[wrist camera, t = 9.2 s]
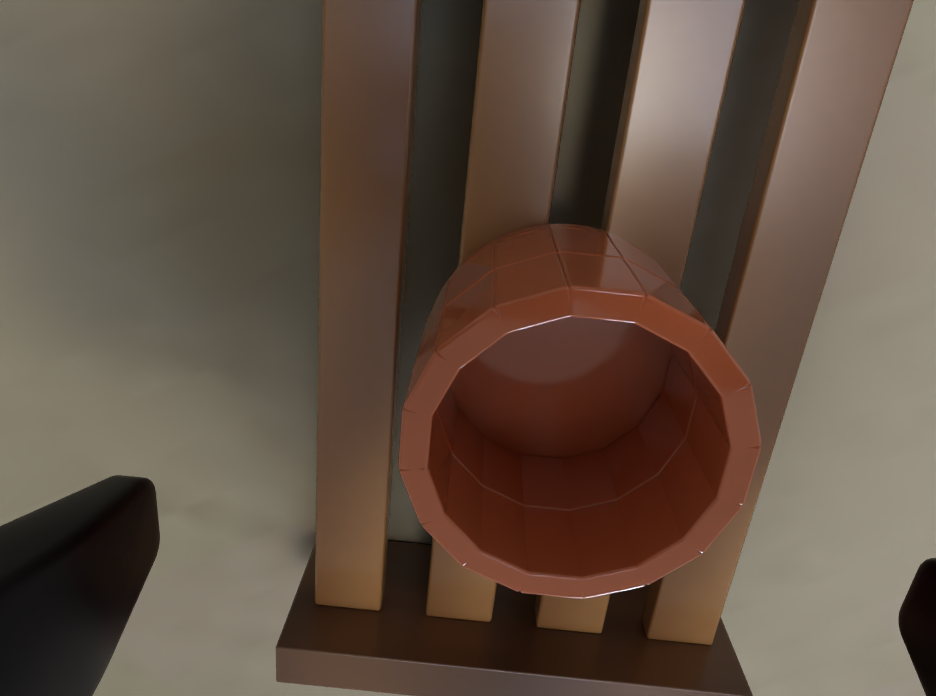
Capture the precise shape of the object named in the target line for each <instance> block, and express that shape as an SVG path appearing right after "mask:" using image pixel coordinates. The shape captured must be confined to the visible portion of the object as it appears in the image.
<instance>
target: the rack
mask: <svg viewBox="0 0 936 696" xmlns="http://www.w3.org/2000/svg"><path fill="white" fill-rule="evenodd" d="M913 1H914V0H799V2H798V6H797V10H796V14H795V18H794V22H793V26H792V30H791V34H790V37H789V41H788V45H787V49H786V53H785V57H784V61H783V65H782V69H781V73H780V77H779V81H778V85H777V88H776V92H775V96H774V100H773V104H772V108H771V112H770V116H769V120H768V124H767V128H766V132H765V136H764V139H763V143H762V147H761V151H760V155H759V159H758V163H757V167H756V171H755V175H754V179H753V183H752V186H751V190H750V194H749V198H748V202H747V206H746V210H745V214H744V218H743V222H742V226H741V230H740V234H739V237H738V241H737V245H736V249H735V253H734V257H733V261H732V265H731V269H730V273H729V277H728V281H727V285H726V288H725V292H724V296H723V300H722V304H721V308H720V312H719V316H718V320H717V324H716V328H715V333H716V334H717V336H718V337H719V338H720V340H721V341H722V342H723V344H724V345H725V347H726V348H727V349H728V351H729V352H730V353H731V355H732V356H733V357H734V359H735V360H736V361H737V363H738V364H739V366H740V367H741V368H742V370H743V371H744V372H745V374H746V375H747V376H748V378H749V379H750V383H751V385H752V387H753V393H754V399H755V406H756V412H757V418H758V424H759V430H760V436H761V445H760V446H761V450H760V454H759V457H758V460H757V463H756V467H755V470H754V473H753V477H752V480H751V483H750V486H749V490H748V493H747V496H746V500H745V503H744V504H742V508H741V509H740V511H739V512H738V513H737V514H736V515H735V517H734V518H733V519H732V520H731V521H730V522H729V524H728V525H727V526H726V527H725V528H724V530H723V531H722V532H721V533H720V534H719V535H718V537H717V538H716V539H715V540H714V541H713V543H712V544H711V545H710V546H709V547H708V548H707V550H706V551H705V552H703V553H701V555H700V556H698V557H697V558H695V559H693V560H691V561H690V562H688V563H686V564H684V565H683V566H681V567H679V568H677V569H676V570H674V571H672V572H670V573H669V574H667V575H665V576H663V577H662V578H660V579H658V580H656V581H655V582H653V583H651V584H649V585H647V584H645V586H644V587H640V588H635V589H630V590H625V591H620V592H616V593H611V594H606V595H601V596H596V597H591V598H584V597H583V598H581V599H576V598H567V597H557V596H547V595H537V594H528V593H522V592H521V591H519V592H518V591H515V590H513V589H510V588H508V587H506V586H504V585H501V584H499V583H497V582H495V581H493V580H490V579H488V578H486V577H484V576H482V575H479V574H477V573H475V572H473V571H470V570H468V569H466V568H465V567H464V566H462V565H460V564H459V563H458V562H457V561H456V560H455V559H454V558H453V557H452V556H451V555H450V554H449V553H448V552H447V551H446V550H445V549H444V548H443V547H442V546H441V545H440V544H439V543H438V542H437V541H436V540H435V539H434V538H432V545H424V544H415V543H405V542H395V541H388V531H389V515H390V500H391V484H392V468H393V453H394V437H395V421H396V405H397V390H398V374H399V358H400V343H401V327H402V311H403V296H404V280H405V264H406V249H407V233H408V217H409V202H410V186H411V170H412V155H413V139H414V123H415V107H416V92H417V76H418V60H419V45H420V29H421V13H422V0H323V24H322V100H321V175H320V251H319V326H318V402H317V478H316V542H315V545H314V548H313V550H312V553H311V556H310V558H309V561H308V563H307V566H306V569H305V571H304V574H303V577H302V579H301V582H300V585H299V587H298V590H297V593H296V595H295V598H294V601H293V603H292V606H291V609H290V611H289V614H288V617H287V619H286V622H285V624H284V627H283V630H282V632H281V635H280V638H279V640H278V643H277V646H276V680H277V682H285V683H295V684H304V685H314V686H324V687H334V688H343V689H353V690H363V691H373V692H382V693H392V694H402V695H412V696H753V695H752V692H751V690H750V687H749V685H748V683H747V680H746V678H745V675H744V673H743V670H742V668H741V665H740V663H739V661H738V658H737V656H736V653H735V651H734V648H733V646H732V643H731V641H730V639H729V636H728V634H727V631H726V629H725V626H724V624H723V621H722V619H721V614H722V611H723V607H724V604H725V601H726V598H727V595H728V591H729V588H730V585H731V582H732V579H733V575H734V572H735V569H736V566H737V563H738V559H739V556H740V553H741V550H742V547H743V543H744V540H745V537H746V534H747V531H748V528H749V524H750V521H751V518H752V515H753V512H754V508H755V505H756V502H757V499H758V496H759V492H760V489H761V486H762V483H763V480H764V476H765V473H766V470H767V467H768V464H769V460H770V457H771V454H772V451H773V448H774V444H775V441H776V438H777V435H778V432H779V429H780V425H781V422H782V419H783V416H784V413H785V409H786V406H787V403H788V400H789V397H790V393H791V390H792V387H793V384H794V381H795V377H796V374H797V371H798V368H799V365H800V361H801V358H802V355H803V352H804V349H805V346H806V342H807V339H808V336H809V333H810V330H811V326H812V323H813V320H814V317H815V314H816V310H817V307H818V304H819V301H820V298H821V294H822V291H823V288H824V285H825V282H826V278H827V275H828V272H829V269H830V266H831V263H832V259H833V256H834V253H835V250H836V247H837V243H838V240H839V237H840V234H841V231H842V227H843V224H844V221H845V218H846V215H847V211H848V208H849V205H850V202H851V199H852V195H853V192H854V189H855V186H856V183H857V179H858V176H859V173H860V170H861V167H862V164H863V160H864V157H865V154H866V151H867V148H868V144H869V141H870V138H871V135H872V132H873V128H874V125H875V122H876V119H877V116H878V112H879V109H880V106H881V103H882V100H883V96H884V93H885V90H886V87H887V84H888V81H889V77H890V74H891V71H892V68H893V65H894V61H895V58H896V55H897V52H898V49H899V45H900V42H901V39H902V36H903V33H904V29H905V26H906V23H907V20H908V17H909V13H910V10H911V7H912V4H913ZM745 2H746V0H640V6H639V11H638V17H637V23H636V28H635V34H634V40H633V46H632V51H631V57H630V63H629V69H628V74H627V80H626V86H625V92H624V97H623V103H622V109H621V114H620V120H619V126H618V132H617V137H616V143H615V149H614V155H613V160H612V166H611V172H610V177H609V183H608V189H607V195H606V200H605V206H604V212H603V218H602V223H601V229H600V230H604V231H607V232H610V233H612V234H614V235H617V236H619V237H621V238H623V239H625V240H627V241H629V242H630V243H632V244H633V245H635V246H636V247H638V248H639V249H641V250H642V251H643V252H644V253H646V254H647V255H648V256H650V257H652V258H653V259H654V260H655V261H656V262H658V264H659V265H660V266H661V267H662V269H663V270H664V271H665V272H666V273H667V275H668V276H669V277H670V278H671V279H672V281H673V282H674V283H675V284H676V285H677V287H678V288H679V289H680V287H681V282H682V278H683V274H684V269H685V265H686V260H687V256H688V252H689V247H690V243H691V239H692V234H693V230H694V225H695V221H696V217H697V212H698V208H699V203H700V199H701V195H702V190H703V186H704V182H705V177H706V173H707V168H708V164H709V160H710V155H711V151H712V146H713V142H714V138H715V133H716V129H717V125H718V120H719V116H720V111H721V107H722V103H723V98H724V94H725V89H726V85H727V81H728V76H729V72H730V67H731V63H732V59H733V54H734V50H735V46H736V41H737V37H738V32H739V28H740V24H741V19H742V15H743V10H744V6H745ZM580 4H581V0H483V10H482V21H481V31H480V42H479V52H478V63H477V73H476V84H475V94H474V105H473V116H472V126H471V137H470V147H469V158H468V168H467V179H466V189H465V200H464V211H463V221H462V232H461V242H460V253H459V263H458V267H459V266H460V265H461V264H462V263H463V262H464V261H465V260H466V259H467V258H468V257H470V256H471V255H472V254H473V253H474V252H476V251H477V250H479V249H480V248H482V247H483V246H485V245H486V244H488V243H489V242H491V241H493V240H495V239H497V238H499V237H501V236H503V235H506V234H508V233H511V232H514V231H517V230H520V229H523V228H528V227H532V226H537V225H546V224H549V219H550V212H551V205H552V198H553V191H554V184H555V177H556V170H557V163H558V156H559V149H560V142H561V135H562V128H563V122H564V115H565V108H566V101H567V94H568V87H569V80H570V73H571V66H572V59H573V52H574V45H575V38H576V31H577V25H578V18H579V11H580Z"/></svg>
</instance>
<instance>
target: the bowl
mask: <svg viewBox="0 0 936 696" xmlns="http://www.w3.org/2000/svg"><path fill="white" fill-rule="evenodd" d="M760 445H761V436H760V430H759V424H758V418H757V412H756V406H755V399H754V393H753V387H752V385H751V383H750V379H749V378H748V376H747V375H746V374H745V372H744V371H743V370H742V368H741V367H740V366H739V364H738V363H737V361H736V360H735V359H734V357H733V356H732V355H731V353H730V352H729V351H728V349H727V348H726V347H725V345H724V344H723V342H722V341H721V340H720V338H719V337H718V336H717V334H716V333H715V332H714V330H713V329H712V328H711V327H710V325H709V324H708V323H707V322H706V321H705V319H704V318H703V317H702V316H701V314H700V313H699V312H698V311H697V310H696V308H695V307H694V306H693V305H692V304H691V302H690V301H689V300H688V299H687V298H686V296H685V295H684V294H683V293H682V292H681V290H680V289H679V288H678V287H677V285H676V284H675V283H674V282H673V281H672V279H671V278H670V277H669V276H668V275H667V273H666V272H665V271H664V270H663V269H662V267H661V266H660V265H659V264H658V262H656V261H655V260H654V259H653V258H652V257H650V256H648V255H647V254H646V253H644V252H643V251H642V250H641V249H639V248H638V247H636V246H635V245H633V244H632V243H630V242H629V241H627V240H625V239H623V238H621V237H619V236H617V235H614V234H612V233H610V232H607V231H604V230H600V229H597V228H594V227H589V226H583V225H577V224H546V225H537V226H532V227H528V228H523V229H520V230H517V231H514V232H511V233H508V234H506V235H503V236H501V237H499V238H497V239H495V240H493V241H491V242H489V243H488V244H486V245H485V246H483V247H482V248H480V249H479V250H477V251H476V252H474V253H473V254H472V255H471V256H470V257H468V258H467V259H466V260H465V261H464V262H463V263H462V264H461V265H460V266H459V267H458V268H457V269H456V270H455V271H454V273H453V274H452V275H451V276H450V277H449V279H448V280H447V282H446V283H445V285H444V286H443V288H442V290H441V291H440V293H439V295H438V297H437V299H436V301H435V303H434V306H433V308H432V311H431V313H430V315H429V317H428V319H427V321H426V324H425V327H424V331H423V335H422V338H421V342H420V346H419V350H418V353H417V357H416V361H415V364H414V368H413V372H412V375H411V379H410V383H409V386H408V390H407V394H406V398H405V401H404V405H403V409H402V417H401V432H400V447H399V462H398V466H399V472H400V475H401V477H402V480H403V482H404V485H405V487H406V490H407V492H408V495H409V497H410V500H411V502H412V505H413V507H414V510H415V513H416V515H417V518H418V520H419V522H420V523H421V524H422V527H423V528H424V529H425V530H426V531H427V532H428V533H429V534H430V535H431V536H432V537H433V538H434V539H435V540H436V541H437V542H438V543H439V544H440V545H441V546H442V547H443V548H444V549H445V550H446V551H447V552H448V553H449V554H450V555H451V556H452V557H453V558H454V559H455V560H456V561H457V562H458V563H459V564H460V565H462V566H464V567H465V568H466V569H468V570H470V571H473V572H475V573H477V574H479V575H482V576H484V577H486V578H488V579H490V580H493V581H495V582H497V583H499V584H501V585H504V586H506V587H508V588H510V589H513V590H515V591H518V592H519V591H521V592H522V593H528V594H537V595H547V596H557V597H567V598H576V599H581V598H583V597H584V598H591V597H596V596H601V595H606V594H611V593H616V592H620V591H625V590H630V589H635V588H640V587H644V586H645V584H647V585H649V584H651V583H653V582H655V581H656V580H658V579H660V578H662V577H663V576H665V575H667V574H669V573H670V572H672V571H674V570H676V569H677V568H679V567H681V566H683V565H684V564H686V563H688V562H690V561H691V560H693V559H695V558H697V557H698V556H700V555H701V553H703V552H705V551H706V550H707V548H708V547H709V546H710V545H711V544H712V543H713V541H714V540H715V539H716V538H717V537H718V535H719V534H720V533H721V532H722V531H723V530H724V528H725V527H726V526H727V525H728V524H729V522H730V521H731V520H732V519H733V518H734V517H735V515H736V514H737V513H738V512H739V511H740V509H741V508H742V504H744V503H745V500H746V496H747V493H748V490H749V486H750V483H751V480H752V477H753V473H754V470H755V467H756V463H757V460H758V457H759V454H760V450H761V446H760Z"/></svg>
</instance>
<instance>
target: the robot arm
mask: <svg viewBox="0 0 936 696" xmlns="http://www.w3.org/2000/svg"><path fill="white" fill-rule="evenodd" d="M159 543H160V532H159V521H158V511H157V500H156V491H155V487H154V484H153V482H152V481H150V480H149V479H148V478H141V477H132V476H122V475H116V476H112V477H109V478H107V479H105V480H102V481H100V482H98V483H96V484H94V485H91V486H89V487H87V488H85V489H82V490H80V491H78V492H76V493H73V494H71V495H69V496H67V497H65V498H62V499H60V500H58V501H56V502H53V503H51V504H49V505H47V506H44V507H42V508H40V509H38V510H36V511H33V512H31V513H29V514H27V515H24V516H22V517H20V518H18V519H15V520H13V521H11V522H9V523H7V524H4V525H2V526H0V696H92V695H93V693H94V691H95V690H96V688H97V686H98V684H99V682H100V680H101V678H102V676H103V674H104V672H105V670H106V668H107V666H108V664H109V662H110V659H111V657H112V655H113V653H114V651H115V648H116V646H117V644H118V642H119V639H120V637H121V635H122V633H123V630H124V628H125V626H126V624H127V621H128V619H129V617H130V615H131V612H132V610H133V608H134V606H135V603H136V601H137V599H138V597H139V594H140V592H141V590H142V588H143V585H144V583H145V581H146V579H147V576H148V574H149V572H150V570H151V567H152V565H153V563H154V561H155V558H156V556H157V552H158V549H159ZM899 628H900V632H901V635H902V638H903V640H904V643H905V645H906V648H907V650H908V653H909V655H910V657H911V660H912V662H913V665H914V667H915V670H916V672H917V674H918V677H919V679H920V682H921V684H922V687H923V689H924V691H925V694H926V696H936V558H931V559H927V560H925V561H924V562H923V563H922V564H921V565H920V567H919V568H918V570H917V573H916V575H915V577H914V579H913V582H912V584H911V586H910V588H909V591H908V593H907V595H906V597H905V599H904V602H903V604H902V606H901V609H900V612H899Z"/></svg>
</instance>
